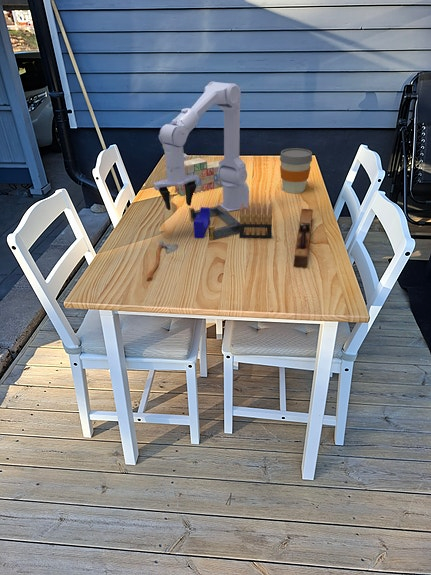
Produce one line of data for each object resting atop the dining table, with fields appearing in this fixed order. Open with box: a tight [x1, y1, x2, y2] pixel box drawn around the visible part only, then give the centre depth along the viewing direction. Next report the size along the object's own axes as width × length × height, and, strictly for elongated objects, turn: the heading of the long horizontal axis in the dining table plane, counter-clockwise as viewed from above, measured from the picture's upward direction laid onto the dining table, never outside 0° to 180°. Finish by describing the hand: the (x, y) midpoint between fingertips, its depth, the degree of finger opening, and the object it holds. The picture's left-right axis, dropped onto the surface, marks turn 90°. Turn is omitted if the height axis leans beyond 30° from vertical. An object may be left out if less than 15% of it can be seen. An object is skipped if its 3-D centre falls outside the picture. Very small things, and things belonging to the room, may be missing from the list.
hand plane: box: [293, 208, 314, 269], centre depth 135 cm, size 34×5×10 cm, turn 169°
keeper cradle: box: [188, 205, 240, 241], centre depth 147 cm, size 12×18×4 cm, turn 26°
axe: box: [146, 241, 179, 282], centre depth 129 cm, size 22×6×2 cm, turn 176°
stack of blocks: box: [174, 157, 223, 197], centre depth 175 cm, size 21×6×12 cm, turn 121°
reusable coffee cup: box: [279, 147, 313, 194], centre depth 171 cm, size 13×12×15 cm
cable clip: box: [192, 206, 211, 239], centre depth 145 cm, size 12×4×6 cm, turn 170°
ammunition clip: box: [238, 202, 273, 240], centre depth 138 cm, size 11×2×12 cm, turn 85°
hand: (178, 206), depth 139 cm, fingers open, 6 cm apart
